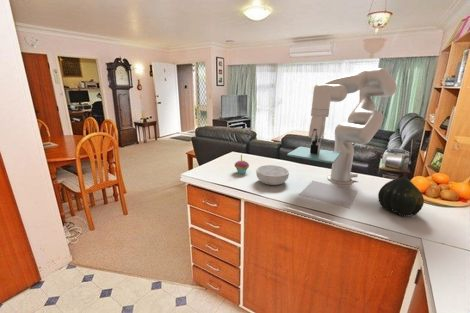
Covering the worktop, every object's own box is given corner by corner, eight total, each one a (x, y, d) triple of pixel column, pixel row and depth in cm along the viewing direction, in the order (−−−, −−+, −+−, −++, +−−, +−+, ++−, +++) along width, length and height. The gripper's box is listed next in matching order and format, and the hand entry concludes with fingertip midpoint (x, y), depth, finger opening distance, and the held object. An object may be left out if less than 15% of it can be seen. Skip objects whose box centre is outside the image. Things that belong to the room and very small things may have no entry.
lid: (300, 147, 123) (301, 137, 122) (340, 154, 113) (342, 142, 112) (286, 155, 107) (288, 143, 105) (333, 163, 97) (335, 150, 95)
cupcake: (247, 175, 134) (248, 155, 130) (233, 174, 135) (233, 154, 132) (249, 170, 142) (250, 151, 138) (235, 169, 143) (236, 150, 140)
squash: (395, 209, 86) (423, 179, 86) (365, 194, 100) (388, 167, 100) (413, 229, 91) (439, 200, 91) (381, 211, 105) (404, 186, 105)
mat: (312, 181, 127) (312, 180, 126) (357, 191, 115) (357, 190, 115) (298, 195, 109) (298, 194, 109) (349, 209, 97) (349, 208, 97)
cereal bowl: (249, 181, 125) (249, 169, 123) (269, 174, 135) (270, 163, 134) (274, 192, 113) (275, 178, 111) (294, 183, 123) (295, 170, 122)
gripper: (315, 111, 114) (311, 148, 119) (306, 113, 100) (301, 154, 105) (332, 112, 110) (326, 150, 115) (324, 114, 96) (318, 157, 101)
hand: (314, 152), depth 110 cm, fingers closed on lid, 4 cm apart
